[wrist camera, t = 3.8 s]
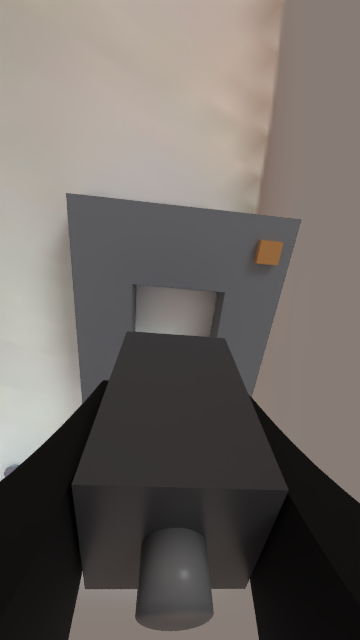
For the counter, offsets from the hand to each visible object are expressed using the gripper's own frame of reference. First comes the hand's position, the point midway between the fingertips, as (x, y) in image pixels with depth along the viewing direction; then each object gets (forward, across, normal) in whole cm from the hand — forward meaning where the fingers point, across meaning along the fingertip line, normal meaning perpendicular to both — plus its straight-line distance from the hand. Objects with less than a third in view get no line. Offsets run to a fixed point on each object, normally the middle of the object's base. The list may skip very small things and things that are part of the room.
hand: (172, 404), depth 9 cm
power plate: (+8, 0, 0) cm, 8 cm away
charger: (+2, 0, 0) cm, 2 cm away
